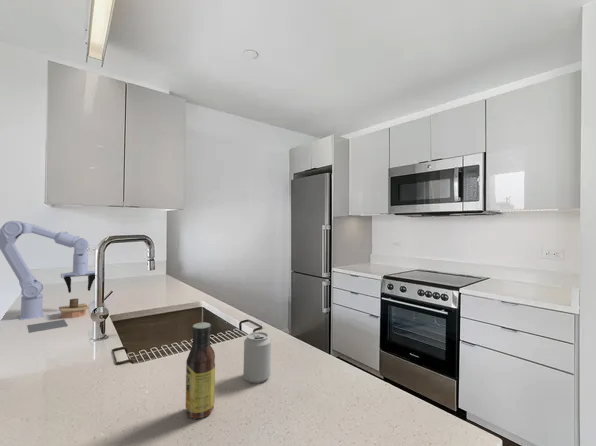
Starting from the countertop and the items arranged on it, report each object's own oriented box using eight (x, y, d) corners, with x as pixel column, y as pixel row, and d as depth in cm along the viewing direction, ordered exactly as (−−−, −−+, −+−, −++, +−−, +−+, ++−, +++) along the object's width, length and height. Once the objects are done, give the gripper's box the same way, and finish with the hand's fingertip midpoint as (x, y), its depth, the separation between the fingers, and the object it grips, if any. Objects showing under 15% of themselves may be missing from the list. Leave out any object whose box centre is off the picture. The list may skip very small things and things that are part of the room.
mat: (27, 326, 123) (27, 325, 123) (64, 320, 131) (64, 319, 131) (28, 333, 114) (29, 332, 114) (68, 327, 123) (68, 326, 123)
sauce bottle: (189, 404, 71) (191, 319, 71) (216, 403, 71) (218, 319, 72) (181, 422, 64) (183, 329, 64) (210, 421, 65) (213, 328, 65)
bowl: (59, 315, 138) (60, 308, 138) (83, 312, 144) (83, 304, 144) (62, 320, 131) (62, 312, 131) (87, 316, 137) (87, 308, 138)
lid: (58, 308, 138) (59, 299, 138) (85, 304, 145) (85, 295, 145) (61, 312, 131) (61, 303, 131) (88, 308, 137) (89, 299, 138)
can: (248, 387, 79) (249, 341, 79) (240, 374, 85) (240, 332, 86) (274, 380, 82) (275, 337, 82) (264, 369, 89) (265, 328, 89)
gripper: (62, 265, 137) (61, 294, 137) (99, 263, 147) (98, 290, 147) (60, 263, 142) (59, 292, 142) (96, 261, 152) (95, 288, 152)
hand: (79, 291), depth 145 cm, fingers open, 7 cm apart
